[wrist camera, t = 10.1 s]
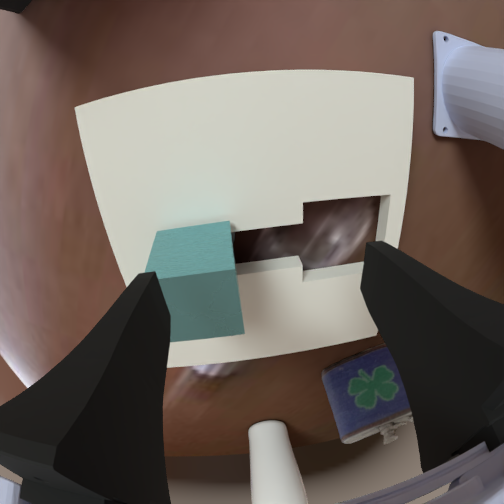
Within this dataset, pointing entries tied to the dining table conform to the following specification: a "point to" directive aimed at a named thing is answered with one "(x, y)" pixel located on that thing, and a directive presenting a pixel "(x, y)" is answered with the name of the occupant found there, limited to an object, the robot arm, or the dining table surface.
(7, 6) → the ammunition clip
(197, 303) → the peg
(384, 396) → the flask
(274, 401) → the dining table surface
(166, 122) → the keyhole plate
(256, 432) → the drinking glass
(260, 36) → the dining table surface
